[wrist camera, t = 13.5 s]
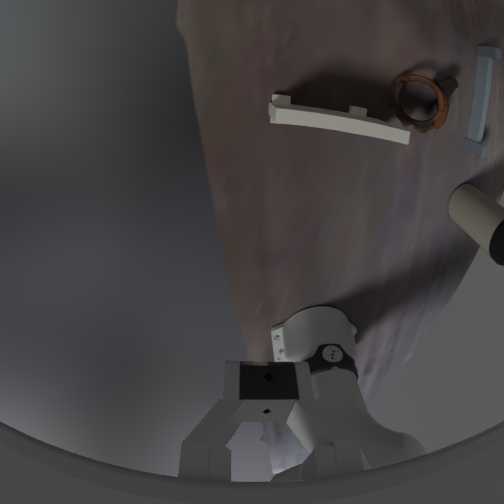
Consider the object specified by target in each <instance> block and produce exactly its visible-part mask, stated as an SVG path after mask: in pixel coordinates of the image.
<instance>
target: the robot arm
mask: <svg viewBox="0 0 504 504" xmlns="http://www.w3.org/2000/svg"><path fill="white" fill-rule="evenodd" d="M356 333H357V329H356V327H355V326H354V325H353V324H351V323H349V321H348V319H347V317H346V315H345V314H344V313H343V312H341V311H340V310H338V309H336V308H332V307H326V306H320V307H312V308H308V309H305V310H302V311H300V312H298V313H296V314H295V315H293V316H292V317H290V318H289V319H288V320H287V321H286V322H284V323H282V324H279V325H277V326H275V327H273V328H272V329H271V337H272V345H273V353H274V362H247V361H240V362H239V361H228V360H226V362H225V373H224V393H223V399H219V400H218V401H217V402H216V404H215V405H214V406H213V407H212V408H211V410H210V411H209V412H208V413H207V414H206V415H205V417H204V418H203V419H202V420H201V421H200V422H199V424H198V425H197V426H196V427H195V428H194V430H193V431H192V432H191V433H190V434H189V435H188V436H187V437H186V439H185V440H184V441H183V442H182V446H181V455H180V464H179V474H178V477H173V476H167V475H160V474H154V473H149V472H143V471H138V470H134V469H129V468H125V467H120V466H116V465H112V464H109V463H105V462H101V461H97V460H94V459H91V458H87V457H84V456H81V455H78V454H75V453H72V452H69V451H66V450H64V449H61V448H58V447H55V446H53V445H50V444H48V443H45V442H43V441H41V440H38V439H36V438H34V437H31V436H29V435H27V434H25V433H23V432H20V431H18V430H16V429H14V428H12V427H10V426H8V425H6V424H4V423H2V422H1V421H0V504H504V421H502V422H501V423H499V424H497V425H495V426H493V427H491V428H489V429H487V430H485V431H483V432H480V433H478V434H476V435H474V436H472V437H469V438H467V439H465V440H462V441H460V442H458V443H455V444H452V445H450V446H447V447H445V448H442V449H439V450H436V451H434V452H431V453H428V454H426V451H425V449H424V447H423V445H422V444H421V443H420V442H419V441H418V440H417V439H416V438H415V437H413V436H411V435H409V434H405V433H401V432H396V431H393V430H390V429H388V428H386V427H384V426H382V425H381V424H379V423H378V422H377V421H376V420H375V419H374V418H373V417H372V416H371V414H370V413H369V411H368V410H367V407H366V405H365V402H364V400H363V397H362V394H361V391H360V388H359V385H358V373H357V372H358V370H357V366H356V365H355V360H356V359H357V357H358V354H357V349H356V344H355V340H354V336H355V334H356ZM260 421H269V422H286V423H287V424H288V426H289V427H290V428H291V430H292V431H293V432H294V434H295V435H296V436H297V438H298V439H299V440H300V442H301V443H302V444H303V446H304V447H305V448H306V449H307V451H308V452H309V453H310V455H309V456H308V457H307V458H306V460H305V461H304V462H303V463H302V464H299V465H297V466H294V467H292V468H290V469H287V470H285V471H283V472H281V473H278V474H276V475H275V476H274V477H273V478H272V480H271V481H270V482H231V450H230V449H228V448H227V447H225V446H226V445H227V443H228V442H229V440H230V439H231V438H232V436H233V435H234V433H235V432H236V430H237V429H238V427H239V426H240V424H241V423H242V422H260Z"/></svg>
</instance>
